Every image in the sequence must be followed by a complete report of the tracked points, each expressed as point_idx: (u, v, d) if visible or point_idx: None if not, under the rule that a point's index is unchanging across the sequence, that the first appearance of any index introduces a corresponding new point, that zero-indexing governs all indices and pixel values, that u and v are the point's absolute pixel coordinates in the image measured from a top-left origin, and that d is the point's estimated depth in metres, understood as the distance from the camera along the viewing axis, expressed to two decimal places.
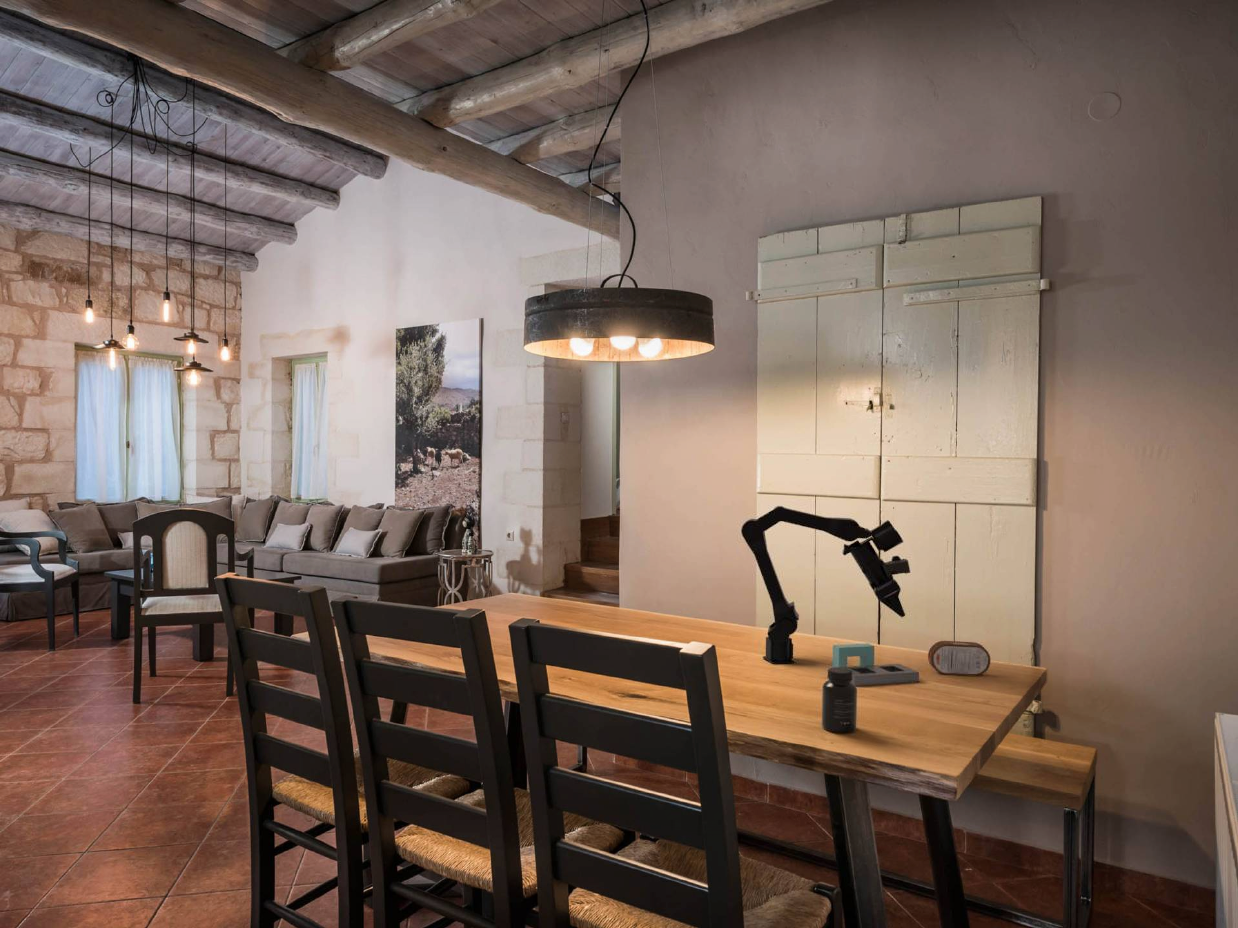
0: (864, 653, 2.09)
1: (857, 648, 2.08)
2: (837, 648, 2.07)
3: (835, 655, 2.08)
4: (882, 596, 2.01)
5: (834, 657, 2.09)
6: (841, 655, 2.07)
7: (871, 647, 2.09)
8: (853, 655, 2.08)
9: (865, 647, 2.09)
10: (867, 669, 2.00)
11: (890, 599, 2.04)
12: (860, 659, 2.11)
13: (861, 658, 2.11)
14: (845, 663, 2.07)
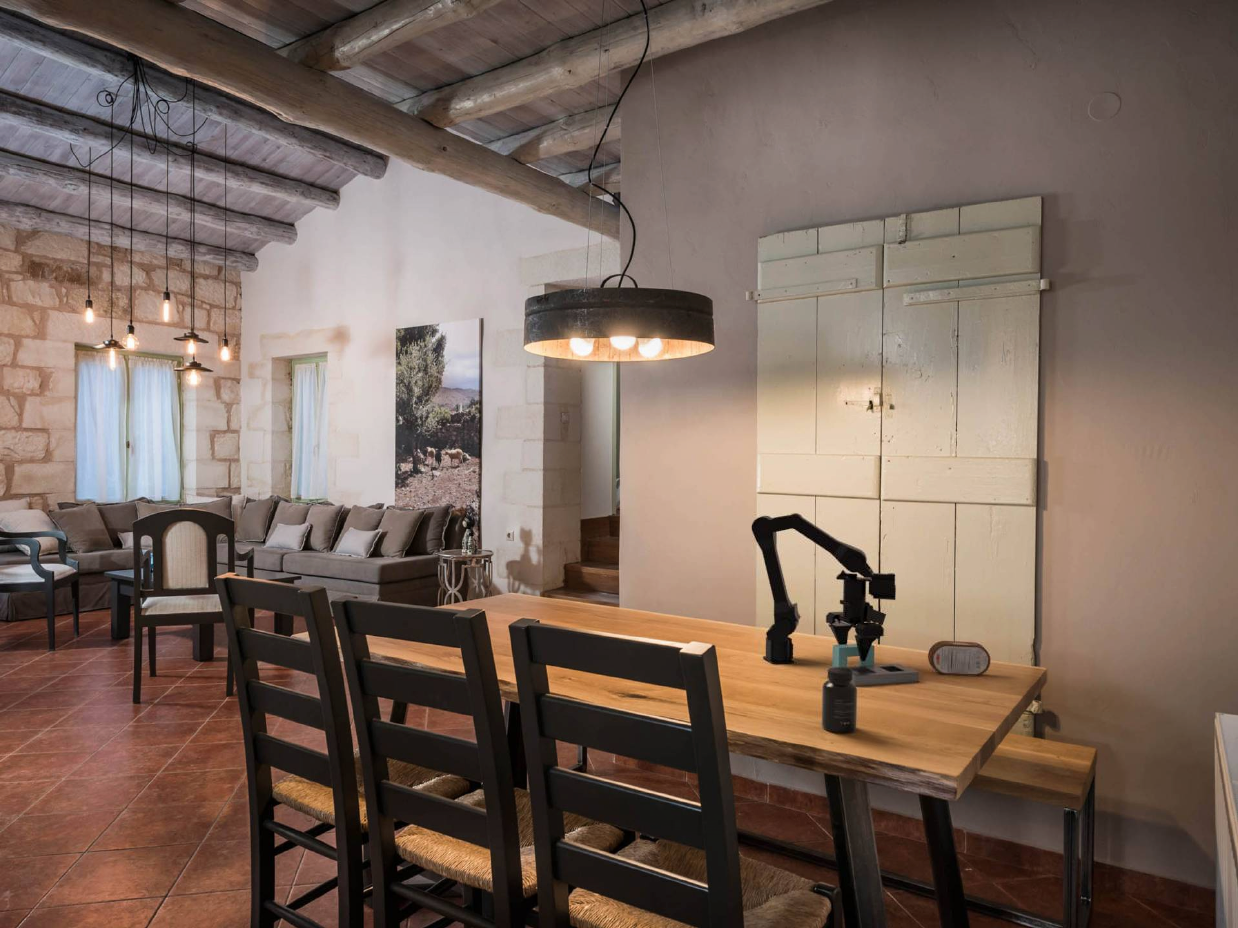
0: None
1: (857, 648, 2.08)
2: (837, 648, 2.07)
3: (835, 655, 2.08)
4: (867, 635, 2.00)
5: (834, 657, 2.09)
6: (841, 655, 2.07)
7: (871, 647, 2.09)
8: (853, 655, 2.08)
9: None
10: (867, 669, 2.00)
11: (864, 640, 2.04)
12: (860, 659, 2.11)
13: None
14: (845, 663, 2.07)
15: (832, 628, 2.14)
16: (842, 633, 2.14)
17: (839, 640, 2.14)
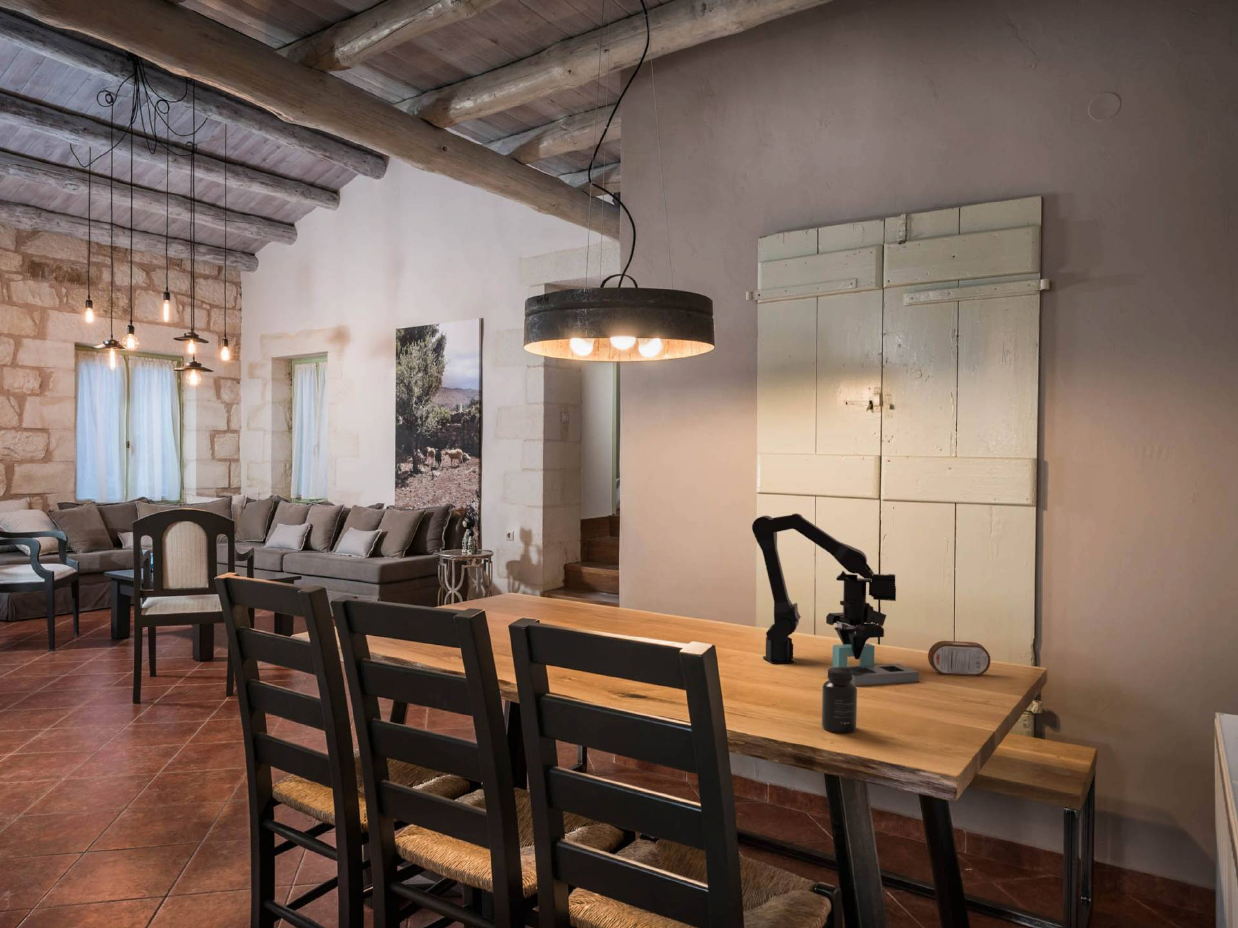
0: (864, 653, 2.09)
1: None
2: (837, 648, 2.07)
3: (835, 655, 2.08)
4: (868, 636, 2.00)
5: (834, 657, 2.09)
6: (841, 655, 2.07)
7: (871, 647, 2.09)
8: (853, 655, 2.08)
9: (865, 647, 2.09)
10: (867, 669, 2.00)
11: (858, 639, 2.06)
12: (860, 659, 2.11)
13: (861, 658, 2.11)
14: (845, 663, 2.07)
15: (838, 631, 2.11)
16: (848, 636, 2.11)
17: (845, 643, 2.11)
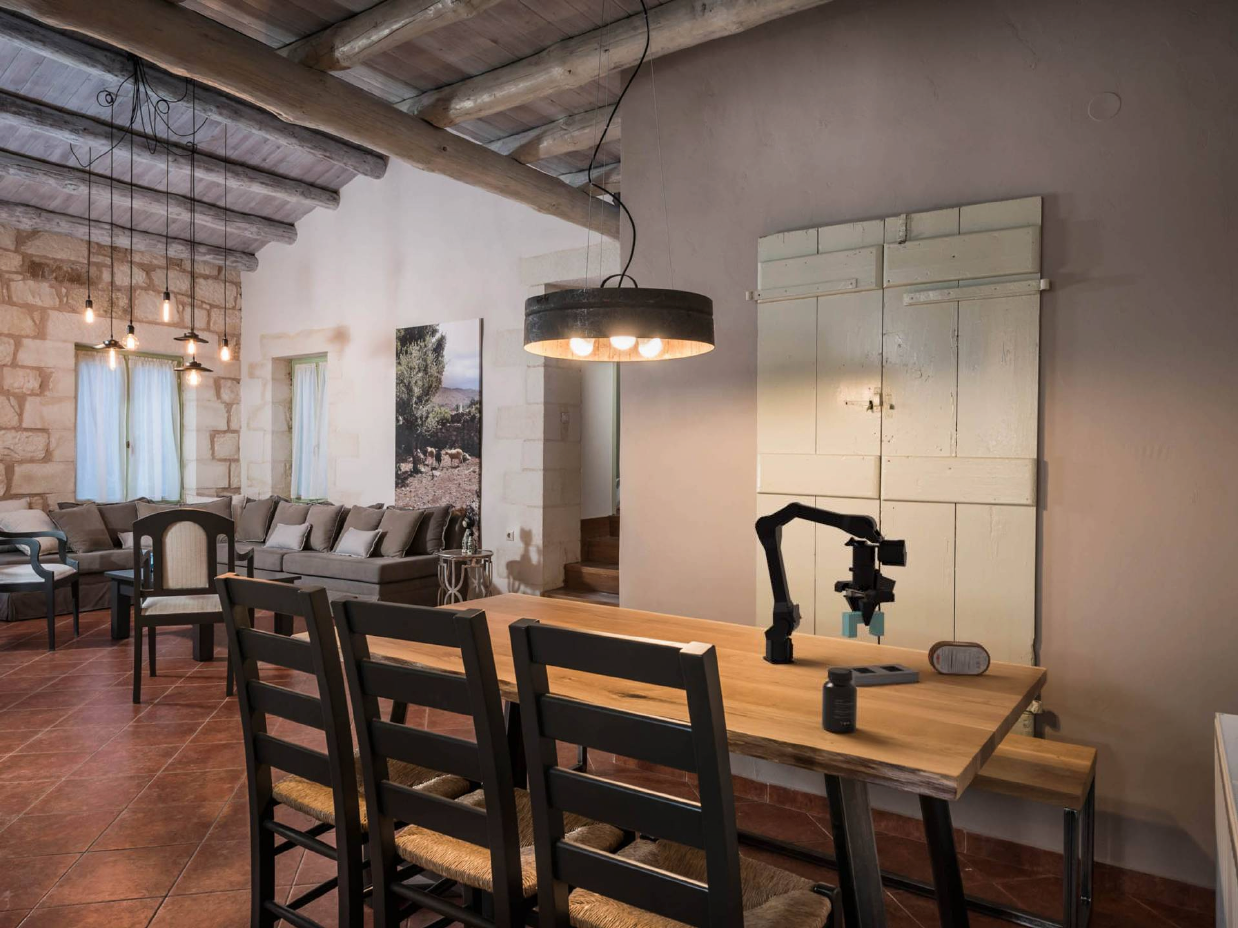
0: (874, 619, 2.05)
1: None
2: (847, 615, 2.04)
3: (845, 622, 2.04)
4: (879, 601, 1.96)
5: (844, 624, 2.05)
6: (851, 622, 2.03)
7: (881, 614, 2.06)
8: (863, 622, 2.04)
9: (875, 614, 2.05)
10: (867, 669, 2.00)
11: (868, 605, 2.03)
12: (870, 627, 2.08)
13: (871, 625, 2.07)
14: (855, 630, 2.03)
15: (847, 598, 2.08)
16: (857, 603, 2.08)
17: (855, 611, 2.07)
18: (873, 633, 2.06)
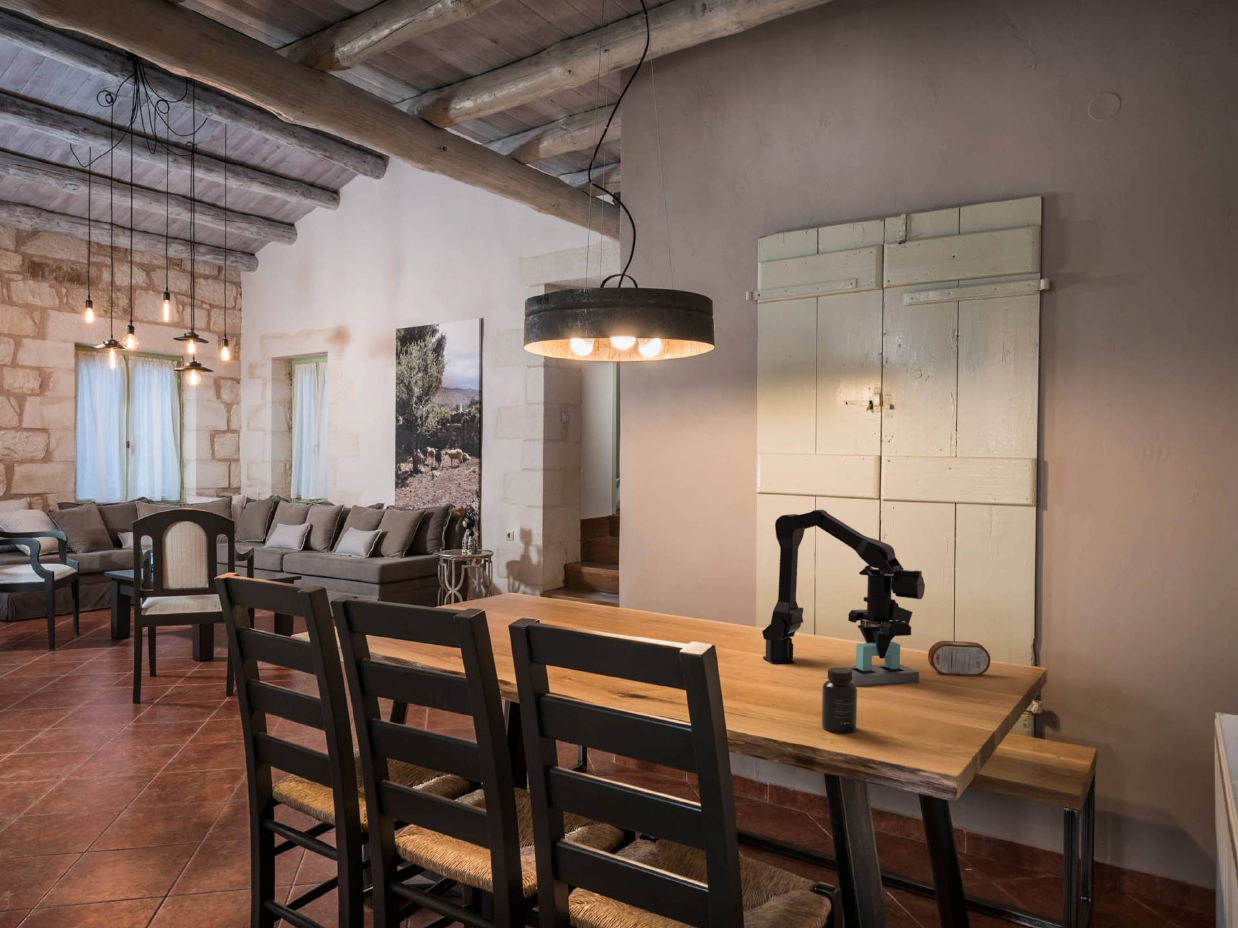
0: (889, 651, 1.98)
1: None
2: (861, 647, 1.97)
3: (859, 654, 1.98)
4: (894, 634, 1.89)
5: (858, 656, 1.98)
6: (865, 654, 1.96)
7: (897, 646, 1.99)
8: None
9: (890, 646, 1.98)
10: None
11: (883, 637, 1.96)
12: (885, 659, 2.01)
13: (886, 657, 2.00)
14: (870, 662, 1.97)
15: (862, 629, 2.01)
16: (872, 635, 2.01)
17: (869, 642, 2.00)
18: (888, 665, 1.99)
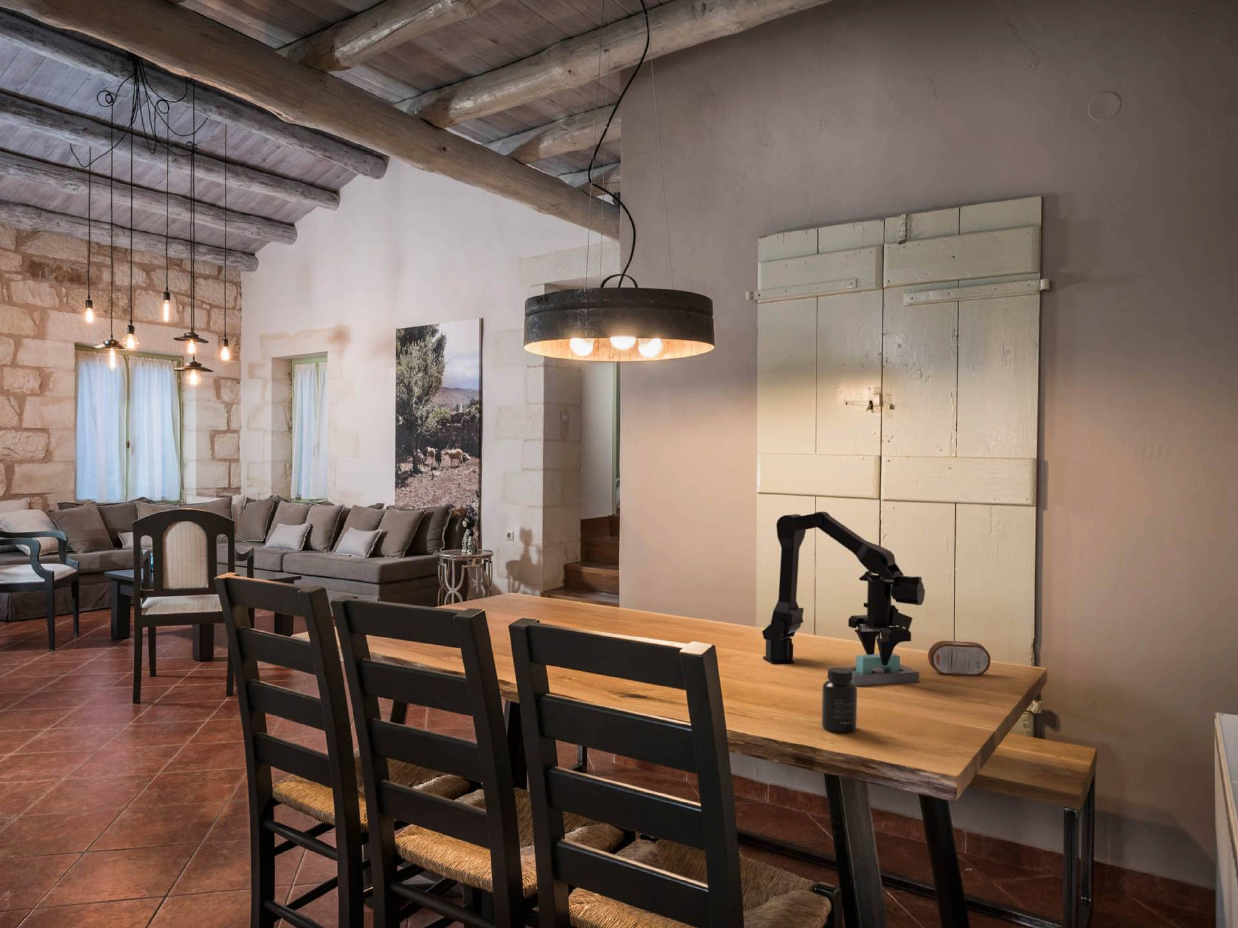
0: (889, 663, 1.98)
1: None
2: (861, 658, 1.97)
3: (859, 666, 1.98)
4: (894, 640, 1.89)
5: (858, 668, 1.98)
6: (865, 666, 1.96)
7: (896, 657, 1.99)
8: (878, 666, 1.97)
9: (890, 657, 1.98)
10: None
11: (886, 644, 1.95)
12: None
13: (886, 669, 2.00)
14: None
15: (859, 634, 2.02)
16: (869, 639, 2.02)
17: (866, 646, 2.01)
18: None
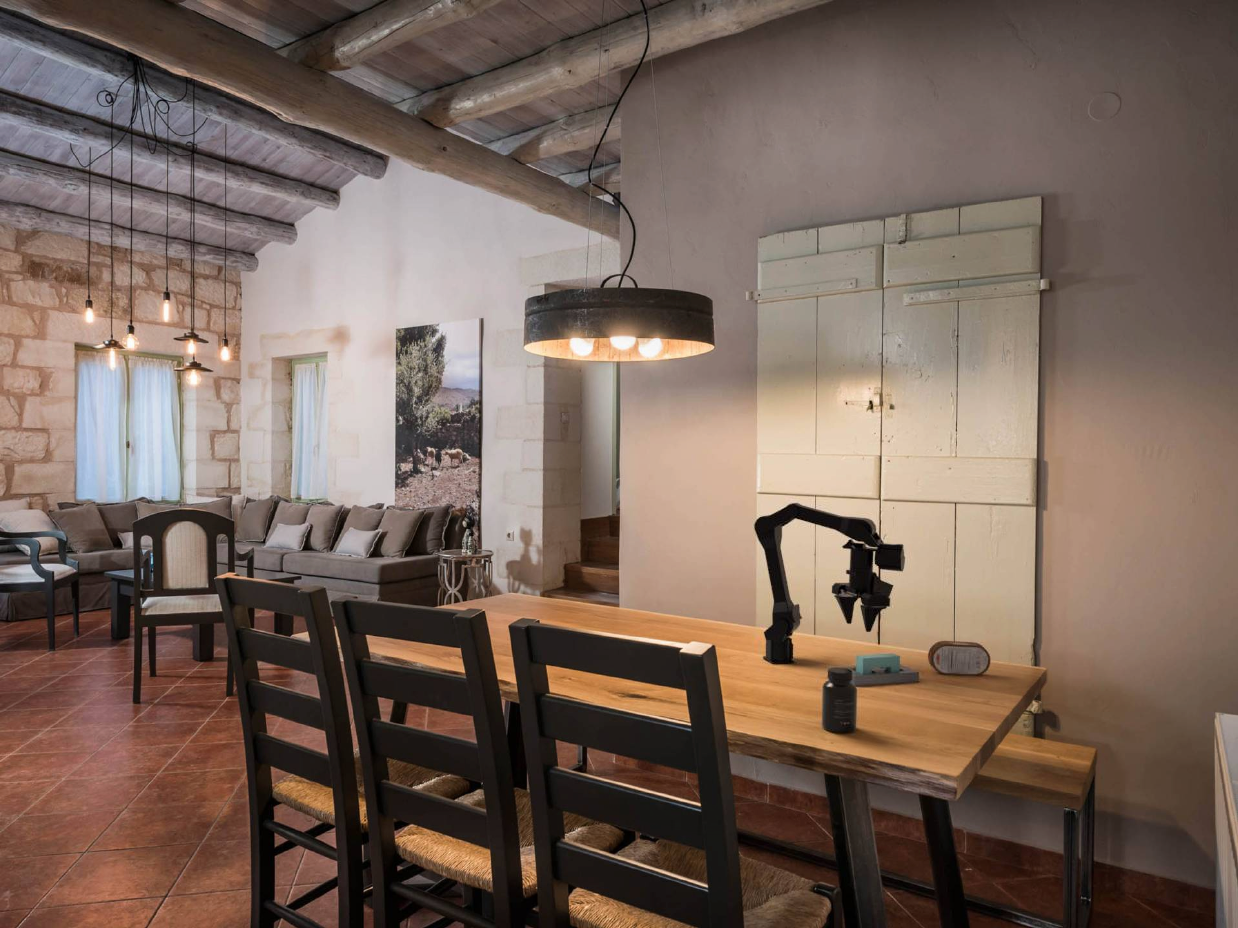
0: (889, 663, 1.98)
1: (882, 658, 1.97)
2: (861, 658, 1.97)
3: (859, 666, 1.98)
4: (873, 604, 1.96)
5: (858, 668, 1.98)
6: (865, 666, 1.96)
7: (896, 657, 1.99)
8: (878, 666, 1.97)
9: (890, 657, 1.98)
10: None
11: (870, 611, 2.00)
12: None
13: (886, 669, 2.00)
14: None
15: (838, 599, 2.10)
16: (848, 604, 2.10)
17: (845, 611, 2.10)
18: None
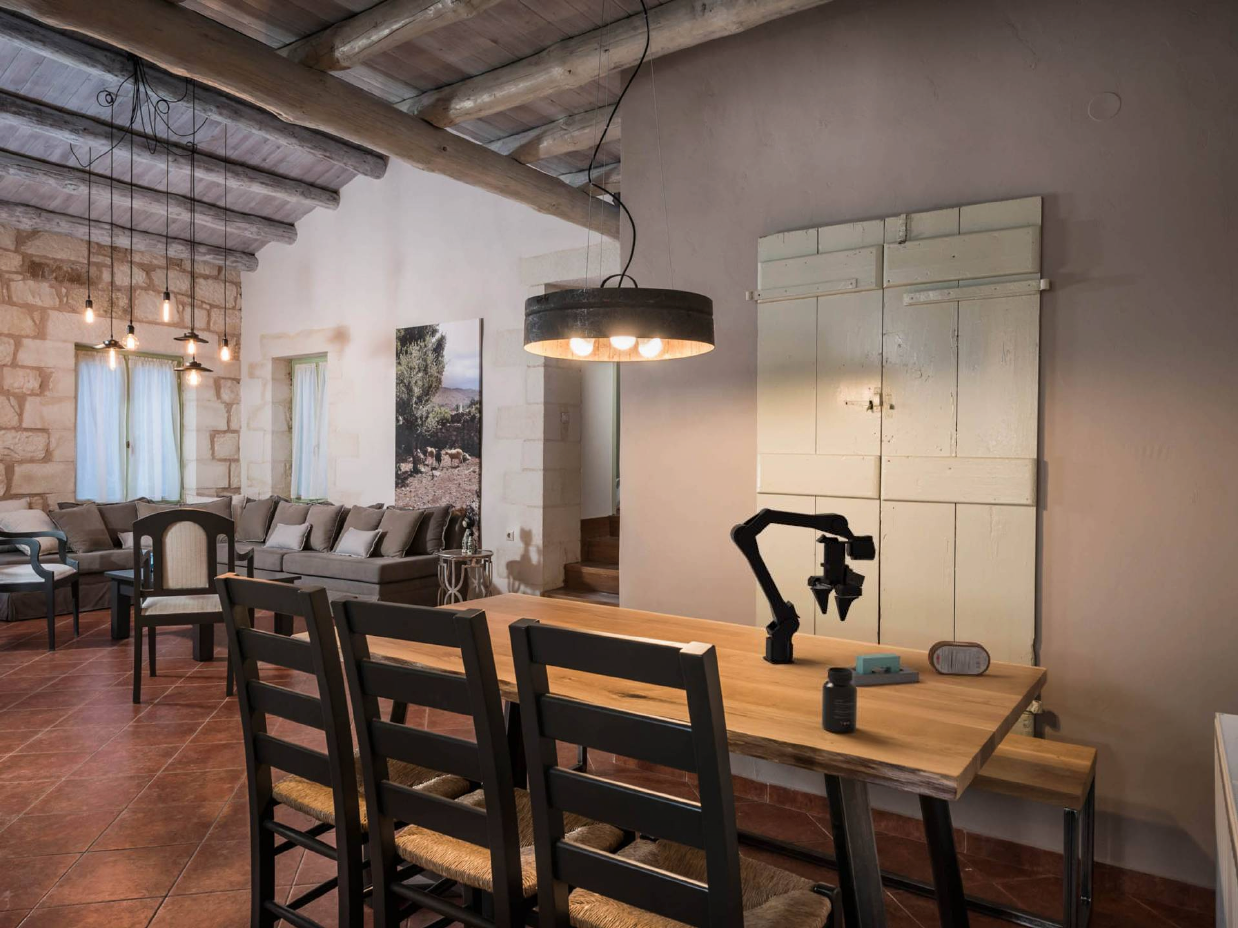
0: (889, 663, 1.98)
1: (882, 658, 1.97)
2: (861, 658, 1.97)
3: (859, 666, 1.98)
4: (846, 595, 2.06)
5: (858, 668, 1.98)
6: (865, 666, 1.96)
7: (896, 657, 1.99)
8: (878, 666, 1.97)
9: (890, 657, 1.98)
10: None
11: (843, 601, 2.10)
12: None
13: (886, 669, 2.00)
14: None
15: (813, 591, 2.20)
16: (823, 595, 2.20)
17: (820, 602, 2.20)
18: None
